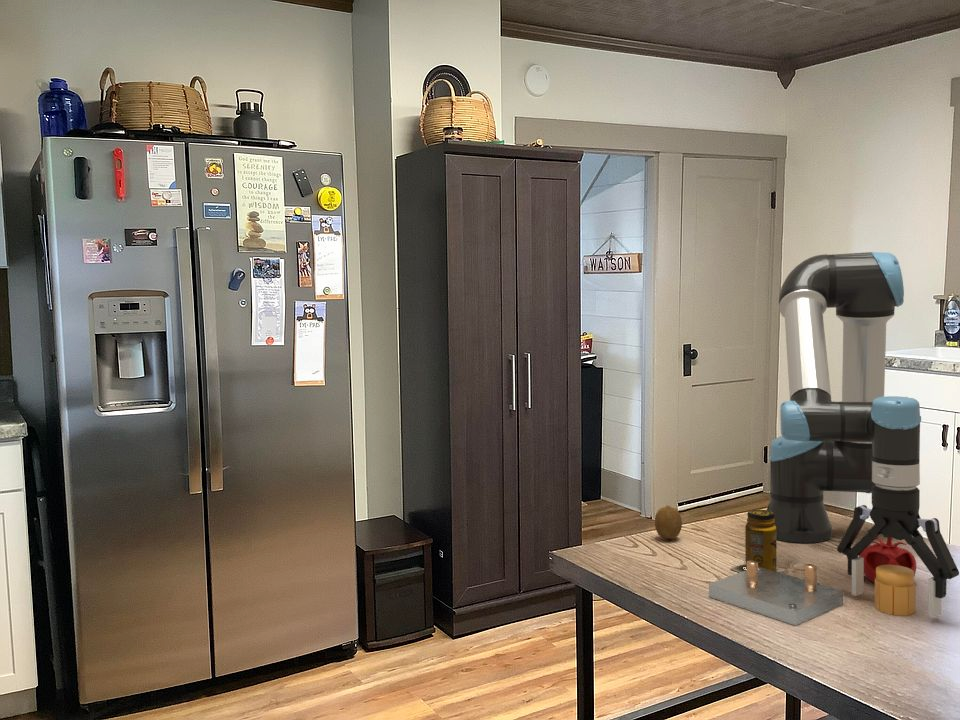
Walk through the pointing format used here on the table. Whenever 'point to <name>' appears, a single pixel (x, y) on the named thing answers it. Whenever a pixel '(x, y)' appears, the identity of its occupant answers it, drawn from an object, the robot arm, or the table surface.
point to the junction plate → (777, 593)
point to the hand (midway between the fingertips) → (894, 604)
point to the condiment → (760, 541)
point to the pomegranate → (886, 557)
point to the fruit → (668, 522)
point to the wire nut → (895, 590)
